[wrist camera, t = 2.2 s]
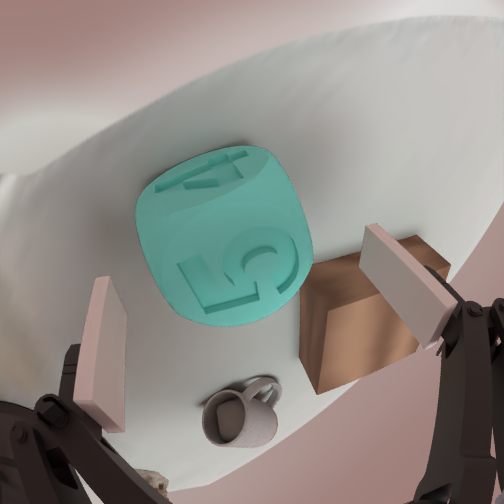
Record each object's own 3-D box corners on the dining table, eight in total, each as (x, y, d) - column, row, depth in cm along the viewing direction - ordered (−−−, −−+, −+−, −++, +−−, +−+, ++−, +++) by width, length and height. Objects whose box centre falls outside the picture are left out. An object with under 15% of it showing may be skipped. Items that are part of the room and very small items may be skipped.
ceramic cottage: (152, 487, 57) (161, 534, 45) (98, 475, 48) (103, 527, 36) (187, 473, 55) (200, 525, 42) (128, 460, 46) (136, 522, 34)
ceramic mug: (235, 416, 39) (249, 458, 33) (196, 404, 35) (207, 453, 29) (289, 382, 38) (310, 426, 32) (253, 366, 33) (274, 419, 27)
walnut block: (298, 355, 35) (316, 395, 30) (298, 266, 27) (328, 311, 22) (391, 321, 37) (415, 351, 32) (414, 233, 29) (451, 264, 24)
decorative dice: (139, 180, 19) (126, 239, 12) (250, 135, 19) (298, 170, 13) (184, 268, 23) (197, 346, 17) (278, 230, 24) (322, 295, 17)
